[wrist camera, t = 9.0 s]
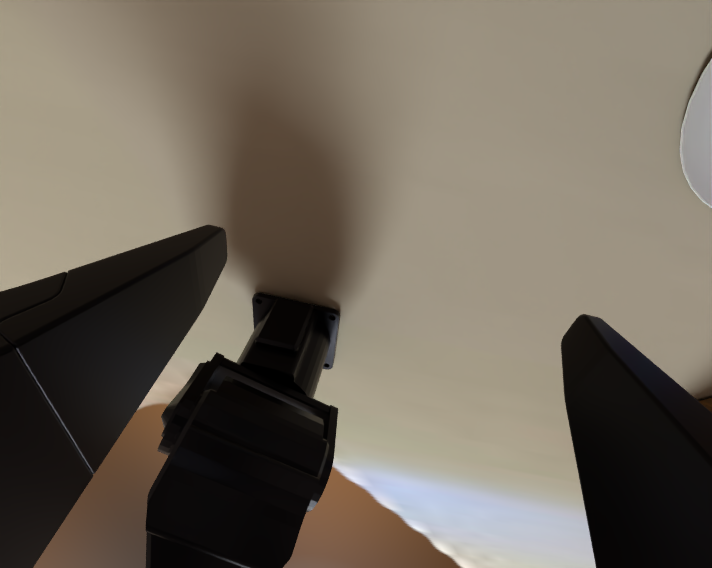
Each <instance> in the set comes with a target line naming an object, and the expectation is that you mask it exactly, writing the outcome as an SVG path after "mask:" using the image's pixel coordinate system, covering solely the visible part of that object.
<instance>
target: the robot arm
mask: <svg viewBox="0 0 712 568" xmlns="http://www.w3.org/2000/svg"><path fill="white" fill-rule="evenodd" d="M226 261H227V243H226V232H225V230H224V229H223V228H221V227H217V226H213V225H205V226H202V227H199V228H196V229H193V230H190V231H187V232H184V233H181V234H178V235H175V236H172V237H169V238H166V239H163V240H160V241H157V242H154V243H151V244H148V245H144V246H141V247H138V248H135V249H132V250H129V251H126V252H123V253H120V254H117V255H114V256H111V257H108V258H105V259H102V260H99V261H96V262H93V263H90V264H87V265H84V266H81V267H78V268H75V269H72V270H69V271H68V273H67V272H62V273H59V274H56V275H53V276H50V277H47V278H44V279H41V280H38V281H35V282H31V283H28V284H25V285H22V286H19V287H15V288H12V289H8V290H4V291H1V292H0V568H33V567H34V565H35V564H36V562H37V560H38V559H39V558H40V556H41V555H42V553H43V551H44V550H45V548H46V547H47V545H48V544H49V542H50V541H51V539H52V538H53V536H54V535H55V533H56V532H57V530H58V529H59V527H60V526H61V524H62V523H63V521H64V520H65V518H66V516H67V515H68V514H69V512H70V511H71V509H72V508H73V506H74V505H75V503H76V502H77V500H78V498H79V497H80V495H81V494H82V492H83V491H84V489H85V488H86V486H87V485H88V483H89V482H90V480H91V479H92V477H93V474H94V473H95V472H96V471H97V469H98V468H99V466H100V464H101V463H102V462H103V460H104V459H105V457H106V456H107V454H108V453H109V451H110V450H111V448H112V447H113V445H114V443H115V442H116V440H117V439H118V437H119V436H120V434H121V433H122V431H123V430H124V428H125V427H126V425H127V424H128V422H129V421H130V419H131V418H132V416H133V415H134V413H135V412H136V410H137V409H138V407H139V406H140V404H141V403H142V401H143V400H144V398H145V397H146V395H147V394H148V392H149V390H150V389H151V387H152V386H153V384H154V383H155V381H156V380H157V378H158V377H159V375H160V374H161V372H162V371H163V369H164V368H165V366H166V365H167V363H168V362H169V360H170V359H171V357H172V356H173V354H174V353H175V351H176V350H177V348H178V347H179V345H180V344H181V342H182V341H183V339H184V337H185V336H186V334H187V333H188V331H189V330H190V328H191V327H192V325H193V324H194V322H195V321H196V319H197V318H198V316H199V315H200V313H201V311H202V310H203V308H204V306H205V304H206V302H207V300H208V298H209V296H210V294H211V292H212V290H213V288H214V286H215V284H216V282H217V280H218V278H219V276H220V274H221V272H222V270H223V268H224V266H225V264H226ZM259 299H260V300H259ZM252 303H253V318H254V332H253V334H252V335H251V337H250V339H249V341H248V343H247V345H246V346H245V348H244V350H243V352H242V354H241V356H240V357H239V359H238V361H237V363H235V362H233V361H231V360H229V359H227V358H224V355H221V354H219V353H216V354H215V355H214V357H213V358H212V360H211V361H207V362H206V363H200V364H199V365H198V367H197V368H196V370H195V372H194V373H193V375H192V376H191V378H190V379H189V381H188V382H187V384H186V385H185V386H184V387H183V389H182V390H181V391H180V392H179V393H178V394H177V396H176V397H175V398H174V399H173V400H172V401H171V403H170V404H169V405H168V406H167V407H166V409H165V411H164V412H163V414H162V416H161V418H162V421H163V425H164V431H163V433H162V437H163V439H162V441H161V443H160V445H159V448H158V451H159V452H161V453H164V454H166V455H168V458H167V460H166V462H165V464H164V466H163V467H162V469H161V471H160V473H159V475H158V476H157V478H156V480H155V482H154V484H153V485H152V487H151V489H150V492H149V494H148V500H147V517H146V532H147V544H146V568H283V567H284V565H285V564H286V563H287V562H288V561H289V559H290V557H291V556H292V553H293V550H294V547H295V543H296V540H297V537H298V534H299V530H300V527H301V525H302V522H303V519H304V516H305V514H306V512H309V511H311V510H312V509H313V508H314V507H315V505H316V504H317V502H318V501H319V499H320V497H321V495H322V493H323V491H324V489H325V486H326V484H327V481H328V479H329V476H330V472H331V469H332V464H333V459H334V449H335V438H336V427H337V415H338V408H336V407H334V406H332V405H330V406H328V405H326V404H324V403H322V402H320V401H318V400H315V399H313V397H314V394H315V391H316V388H317V385H318V382H319V378H320V375H321V372H322V369H331V368H332V367H333V363H334V356H335V349H336V342H337V335H338V328H339V321H340V313H339V312H338V311H337V310H335V309H331V308H326V307H322V306H317V305H313V304H308V303H304V302H299V301H295V300H291V299H286V298H282V297H277V296H273V295H268V294H264V293H256V294H255V295H254V297H253V299H252ZM331 315H333V316H335V317H333V316H331ZM561 353H562V368H563V383H564V396H565V403H566V410H567V415H568V420H569V426H570V431H571V436H572V441H573V447H574V452H575V457H576V463H577V468H578V473H579V479H580V484H581V489H582V495H583V500H584V505H585V510H586V516H587V521H588V526H589V532H590V537H591V542H592V548H593V553H594V558H595V564H596V568H712V412H710V411H709V410H708V409H707V408H706V407H705V406H703V405H702V404H701V403H700V402H699V401H698V400H696V399H695V398H694V397H693V396H692V395H690V394H689V393H688V392H687V391H686V390H685V389H683V388H682V387H681V386H680V385H679V384H677V383H676V382H675V381H674V380H673V379H672V378H670V377H669V376H668V375H667V374H666V373H665V372H663V371H662V370H661V369H660V368H659V367H657V366H656V365H655V364H654V363H653V362H652V361H650V360H649V359H648V358H647V357H646V356H644V355H643V354H642V353H641V352H640V351H639V350H637V349H636V348H635V347H634V346H633V345H632V344H630V343H629V342H628V341H627V340H626V339H624V338H623V337H622V336H621V335H620V334H619V333H617V332H616V331H615V330H614V329H613V328H611V327H610V326H609V325H608V324H607V323H606V322H604V321H603V320H602V319H601V318H598V317H594V316H590V315H586V314H583V315H580V316H579V317H578V318H577V319H576V320H575V321H574V323H573V324H572V325H571V327H570V328H569V330H568V331H567V332H566V334H565V335H564V336H563V339H562V342H561Z"/></svg>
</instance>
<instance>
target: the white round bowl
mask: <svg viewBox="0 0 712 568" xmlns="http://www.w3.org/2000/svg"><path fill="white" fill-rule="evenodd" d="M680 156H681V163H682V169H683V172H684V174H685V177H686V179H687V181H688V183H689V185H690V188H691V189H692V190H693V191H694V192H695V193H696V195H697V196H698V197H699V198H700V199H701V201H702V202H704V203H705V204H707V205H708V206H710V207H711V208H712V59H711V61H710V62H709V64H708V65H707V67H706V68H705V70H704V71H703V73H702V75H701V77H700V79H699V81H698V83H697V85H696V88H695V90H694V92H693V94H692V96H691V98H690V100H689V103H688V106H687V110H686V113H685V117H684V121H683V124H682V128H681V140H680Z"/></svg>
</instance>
